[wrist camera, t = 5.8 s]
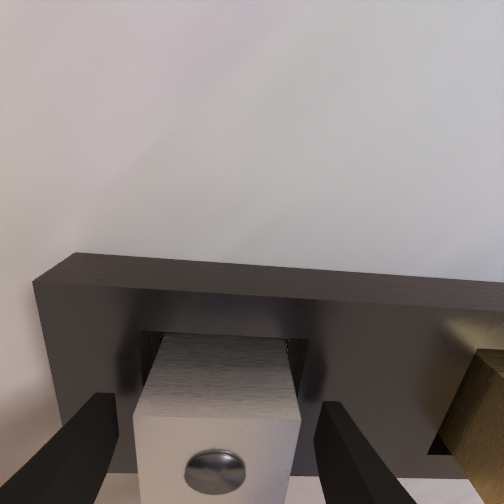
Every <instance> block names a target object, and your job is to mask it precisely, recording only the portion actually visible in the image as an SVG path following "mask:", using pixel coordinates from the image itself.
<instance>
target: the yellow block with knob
mask: <svg viewBox="0 0 504 504" xmlns="http://www.w3.org/2000/svg"><path fill="white" fill-rule="evenodd" d="M437 433H438V435H439V436H440V438H441V439H442V441H443V442H444V444H445V445H446V447H447V448H448V450H449V451H450V453H451V454H452V456H453V457H454V458H455V460H456V461H457V463H458V464H459V466H460V467H461V469H462V470H463V472H464V473H465V475H466V476H467V478H468V479H469V481H470V482H471V484H472V485H473V487H474V488H475V490H476V491H477V493H478V494H479V496H480V497H481V498H482V500H483V501H484V503H485V504H504V350H500V349H481V348H477V350H476V352H475V354H474V356H473V358H472V360H471V362H470V364H469V367H468V369H467V371H466V373H465V375H464V377H463V379H462V381H461V383H460V385H459V388H458V390H457V392H456V394H455V396H454V398H453V400H452V402H451V404H450V406H449V408H448V411H447V413H446V415H445V417H444V419H443V421H442V423H441V425H440V427H439V429H438V432H437Z"/></svg>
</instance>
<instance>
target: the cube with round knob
mask: <svg viewBox="0 0 504 504" xmlns="http://www.w3.org/2000/svg"><path fill="white" fill-rule="evenodd" d="M133 425H134V436H135V446H136V456H137V467H138V477H139V488H140V498H141V504H284V501H285V496H286V492H287V487H288V482H289V477H290V473H291V468H292V463H293V458H294V453H295V449H296V444H297V439H298V434H299V430H300V425H301V417H300V412H299V407H298V403H297V398H296V393H295V389H294V384H293V380H292V375H291V370H290V366H289V361H288V357H287V352H286V347H285V343H284V338H273V337H254V336H235V335H216V334H197V333H178V332H165V335H164V338H163V340H162V343H161V345H160V348H159V350H158V353H157V355H156V358H155V360H154V363H153V366H152V368H151V371H150V373H149V376H148V378H147V381H146V383H145V386H144V388H143V391H142V393H141V396H140V399H139V401H138V404H137V406H136V409H135V411H134V414H133Z"/></svg>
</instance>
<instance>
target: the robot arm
mask: <svg viewBox="0 0 504 504" xmlns="http://www.w3.org/2000/svg"><path fill="white" fill-rule="evenodd" d="M118 438H119V427H118V418H117V409H116V400H115V393H101V392H96V393H95V394H93V395H92V396H91V397H90V399H89V400H88V401H87V402H86V403H85V404H84V405H83V406H82V407H81V408H80V409H79V410H78V411H77V412H76V413H75V414H74V415H73V417H72V418H71V419H70V420H69V421H68V422H67V423H66V424H65V425H64V426H63V427H62V428H61V429H60V430H59V431H58V432H57V433H56V434H55V435H54V436H53V437H52V438H51V439H50V440H49V441H48V442H47V443H46V444H45V445H44V446H43V447H42V448H41V449H40V450H39V451H38V452H37V453H36V454H35V455H34V456H33V457H32V458H31V459H30V460H29V461H28V462H27V463H26V464H25V465H24V466H23V467H22V468H21V469H19V470H18V471H17V472H16V473H15V474H14V475H13V476H12V477H11V478H10V479H9V480H8V481H7V482H6V483H4V484H3V485H2V486H1V487H0V504H94V502H95V499H96V497H97V495H98V492H99V490H100V488H101V485H102V483H103V481H104V478H105V476H106V474H107V471H108V468H109V465H110V463H111V460H112V457H113V454H114V450H115V447H116V444H117V441H118ZM313 443H314V450H315V456H316V462H317V468H318V474H319V478H320V482H321V486H322V490H323V493H324V497H325V501H326V504H417V503H416V502H415V501H414V499H413V498H412V497H411V496H410V495H409V493H408V492H407V491H406V490H405V488H404V487H403V486H402V485H401V484H400V482H399V481H398V480H397V478H396V477H395V476H394V475H393V473H392V472H391V471H390V469H389V468H388V467H387V466H386V464H385V463H384V462H383V460H382V459H381V458H380V456H379V455H378V454H377V452H376V451H375V450H374V448H373V447H372V446H371V444H370V443H369V442H368V440H367V439H366V437H365V436H364V435H363V433H362V432H361V430H360V429H359V428H358V426H357V425H356V423H355V422H354V421H353V419H352V418H351V416H350V415H349V413H348V412H347V410H346V409H345V408H344V406H343V405H342V403H341V402H340V401H323V403H322V407H321V411H320V415H319V419H318V423H317V427H316V431H315V435H314V439H313Z"/></svg>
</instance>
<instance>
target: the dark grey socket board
mask: <svg viewBox="0 0 504 504" xmlns="http://www.w3.org/2000/svg"><path fill="white" fill-rule="evenodd" d="M32 283H33V288H34V293H35V298H36V302H37V307H38V312H39V316H40V321H41V326H42V331H43V335H44V340H45V345H46V350H47V354H48V359H49V364H50V369H51V373H52V378H53V383H54V387H55V392H56V397H57V402H58V406H59V411H60V416H61V421H62V425H63V426H64V425H65V424H66V423H67V422H68V421H69V420H70V419H71V418H72V417H73V415H74V414H75V413H76V412H77V411H78V410H79V409H80V408H81V407H82V406H83V405H84V404H85V403H86V402H87V401H88V400H89V399H90V397H91V396H92V395H93V394H95V393H96V392H101V393H115V400H116V409H117V418H118V427H119V438H118V441H117V444H116V447H115V450H114V454H113V457H112V460H111V463H110V465H109V468H108V471H107V473H138V467H137V456H136V446H135V436H134V425H133V414H134V411H135V409H136V406H137V404H138V401H139V399H140V396H141V393H142V391H143V388H144V386H145V383H146V381H147V378H148V376H149V373H150V371H151V368H152V366H153V363H154V360H155V358H156V355H157V353H158V350H159V348H160V332H178V333H197V334H216V335H235V336H254V337H273V338H291V339H290V344H289V350H288V356H287V357H288V361H289V366H290V370H291V375H292V380H293V384H294V389H295V393H296V398H297V403H298V407H299V412H300V417H301V425H300V430H299V434H298V439H297V444H296V449H295V453H294V458H293V463H292V468H291V473H290V476H319V474H318V468H317V462H316V456H315V450H314V443H313V439H314V435H315V431H316V427H317V423H318V419H319V415H320V411H321V407H322V403H323V401H340V402H341V403H342V405H343V406H344V408H345V409H346V410H347V412H348V413H349V415H350V416H351V418H352V419H353V421H354V422H355V423H356V425H357V426H358V428H359V429H360V430H361V432H362V433H363V435H364V436H365V437H366V439H367V440H368V442H369V443H370V444H371V446H372V447H373V448H374V450H375V451H376V452H377V454H378V455H379V456H380V458H381V459H382V460H383V462H384V463H385V464H386V466H387V467H388V468H389V469H390V471H391V472H392V473H393V475H394V476H395V477H396V478H433V479H468V478H467V476H466V475H465V473H464V472H463V470H462V469H461V467H460V466H459V464H458V463H457V461H456V460H455V458H454V457H453V456H452V454H451V453H450V451H449V450H448V448H447V447H446V445H445V444H444V442H443V441H442V439H441V438H440V436H439V435H438V433H437V432H438V429H439V427H440V425H441V423H442V421H443V419H444V417H445V415H446V413H447V411H448V408H449V406H450V404H451V402H452V400H453V398H454V396H455V394H456V392H457V390H458V388H459V385H460V383H461V381H462V379H463V377H464V375H465V373H466V371H467V369H468V367H469V364H470V362H471V360H472V358H473V356H474V354H475V352H476V350H477V348H481V349H500V350H504V283H499V282H485V281H471V280H457V279H443V278H428V277H414V276H400V275H386V274H372V273H358V272H344V271H330V270H315V269H301V268H287V267H273V266H259V265H245V264H231V263H217V262H203V261H188V260H174V259H160V258H146V257H132V256H118V255H104V254H90V253H74V254H72V255H71V256H69V257H68V258H66V259H65V260H63V261H62V262H60V263H59V264H57V265H56V266H54V267H53V268H51V269H50V270H48V271H47V272H45V273H44V274H42V275H41V276H39V277H38V278H36V279H35V280H34V281H32Z"/></svg>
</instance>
